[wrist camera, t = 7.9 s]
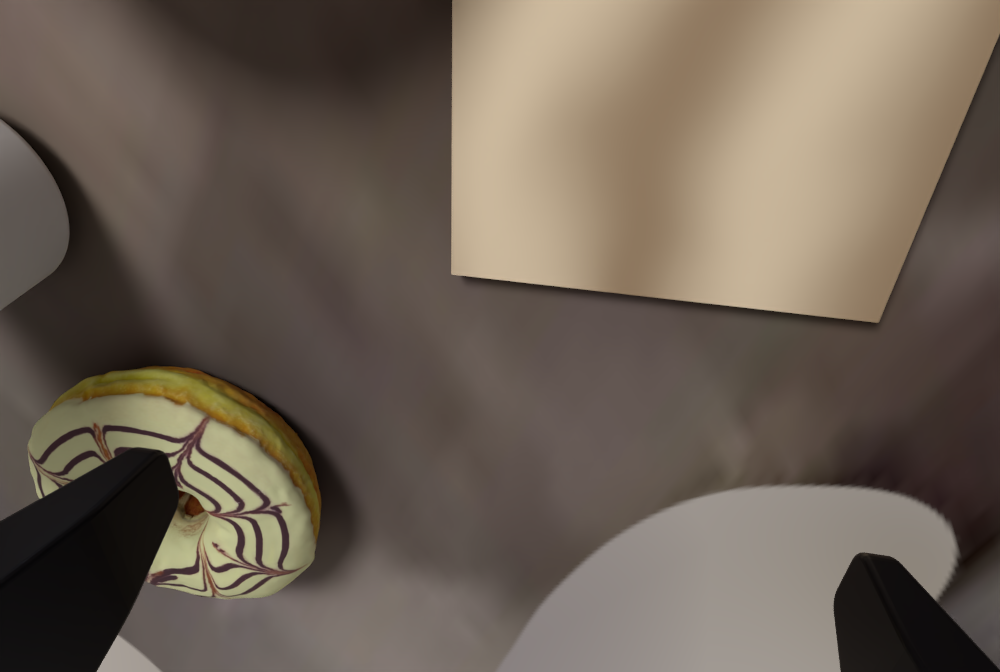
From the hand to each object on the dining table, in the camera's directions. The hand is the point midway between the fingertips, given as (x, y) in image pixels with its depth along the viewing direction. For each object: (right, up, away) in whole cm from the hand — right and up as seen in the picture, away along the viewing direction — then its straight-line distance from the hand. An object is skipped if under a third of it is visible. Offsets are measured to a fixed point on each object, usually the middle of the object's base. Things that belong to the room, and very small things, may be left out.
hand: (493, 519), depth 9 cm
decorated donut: (-12, -2, +19) cm, 22 cm away
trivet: (+5, +9, +8) cm, 13 cm away
